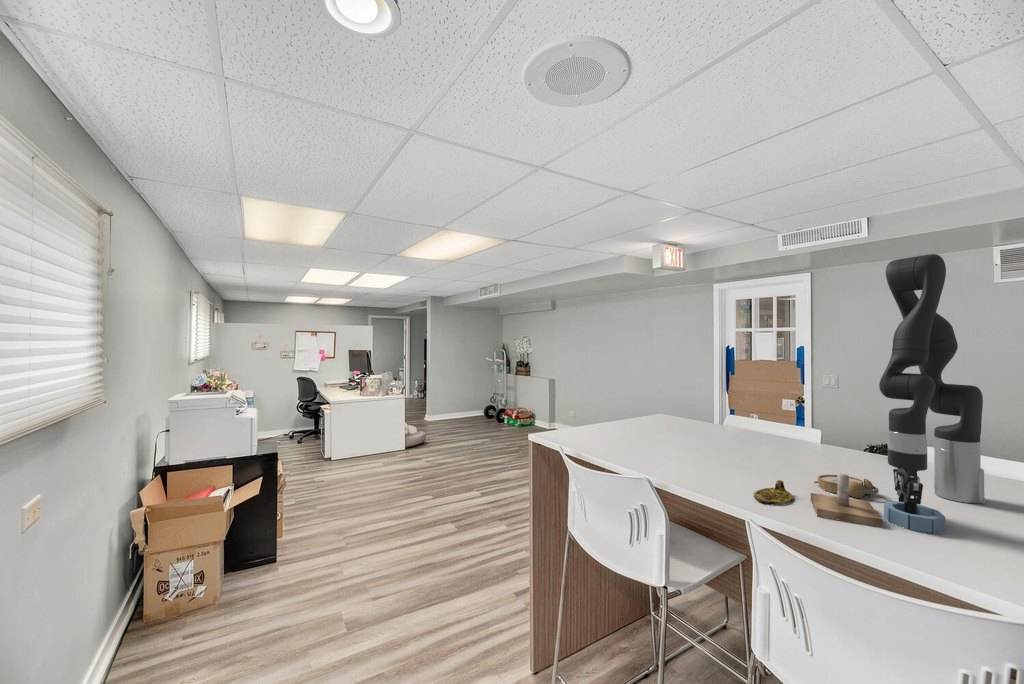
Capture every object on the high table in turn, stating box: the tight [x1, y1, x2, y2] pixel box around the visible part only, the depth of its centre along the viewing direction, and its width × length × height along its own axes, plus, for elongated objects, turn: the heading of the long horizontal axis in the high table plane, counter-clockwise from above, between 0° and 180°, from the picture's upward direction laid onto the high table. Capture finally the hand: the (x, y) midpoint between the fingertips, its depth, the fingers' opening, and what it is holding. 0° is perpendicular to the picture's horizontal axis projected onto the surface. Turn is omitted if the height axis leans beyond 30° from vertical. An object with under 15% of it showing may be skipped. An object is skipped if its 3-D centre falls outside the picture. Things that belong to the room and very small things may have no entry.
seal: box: [753, 479, 794, 506], centre depth 121 cm, size 9×5×15 cm
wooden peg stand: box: [810, 473, 883, 528], centre depth 111 cm, size 13×13×10 cm
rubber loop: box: [883, 500, 946, 534], centre depth 104 cm, size 10×10×4 cm
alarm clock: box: [813, 474, 880, 499], centre depth 126 cm, size 11×5×15 cm
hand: (907, 513), depth 108 cm, fingers open, 4 cm apart
